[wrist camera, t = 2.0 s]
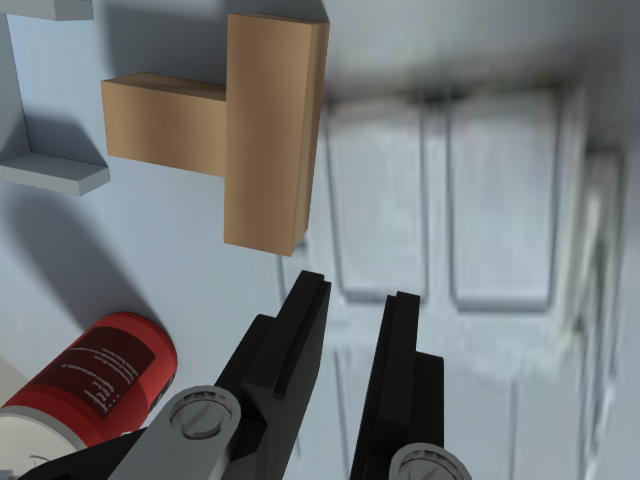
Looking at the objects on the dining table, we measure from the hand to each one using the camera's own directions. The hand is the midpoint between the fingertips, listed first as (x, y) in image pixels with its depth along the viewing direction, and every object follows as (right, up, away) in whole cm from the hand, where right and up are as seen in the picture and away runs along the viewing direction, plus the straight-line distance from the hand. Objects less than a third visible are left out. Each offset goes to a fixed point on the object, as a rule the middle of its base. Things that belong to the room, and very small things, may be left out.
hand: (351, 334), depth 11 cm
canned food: (-16, -7, +27) cm, 32 cm away
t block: (-7, +10, +17) cm, 20 cm away
